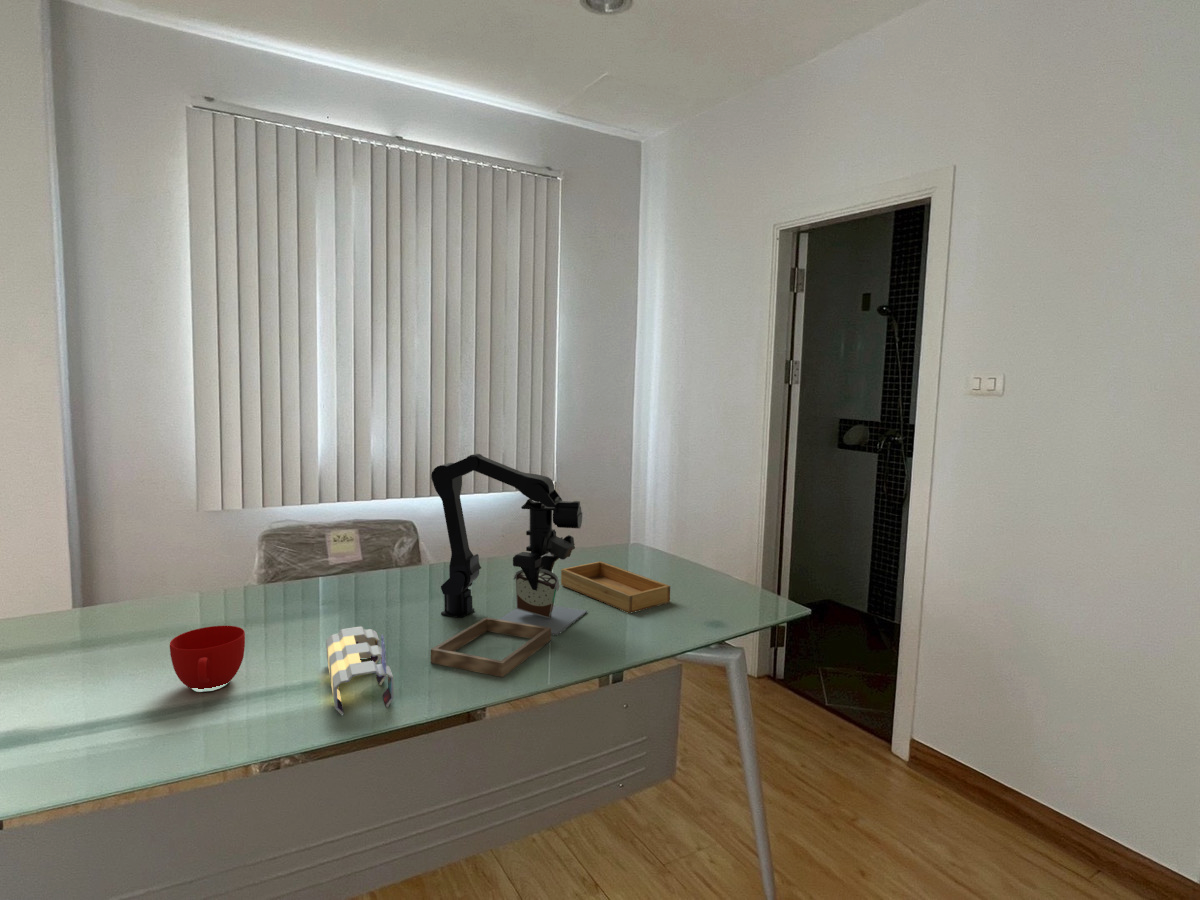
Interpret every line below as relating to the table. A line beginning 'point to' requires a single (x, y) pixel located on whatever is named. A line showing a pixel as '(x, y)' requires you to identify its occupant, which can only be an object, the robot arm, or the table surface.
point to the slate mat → (556, 622)
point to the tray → (615, 586)
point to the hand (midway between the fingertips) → (540, 586)
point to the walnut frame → (448, 657)
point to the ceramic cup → (208, 655)
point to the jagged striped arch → (357, 660)
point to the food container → (537, 593)
